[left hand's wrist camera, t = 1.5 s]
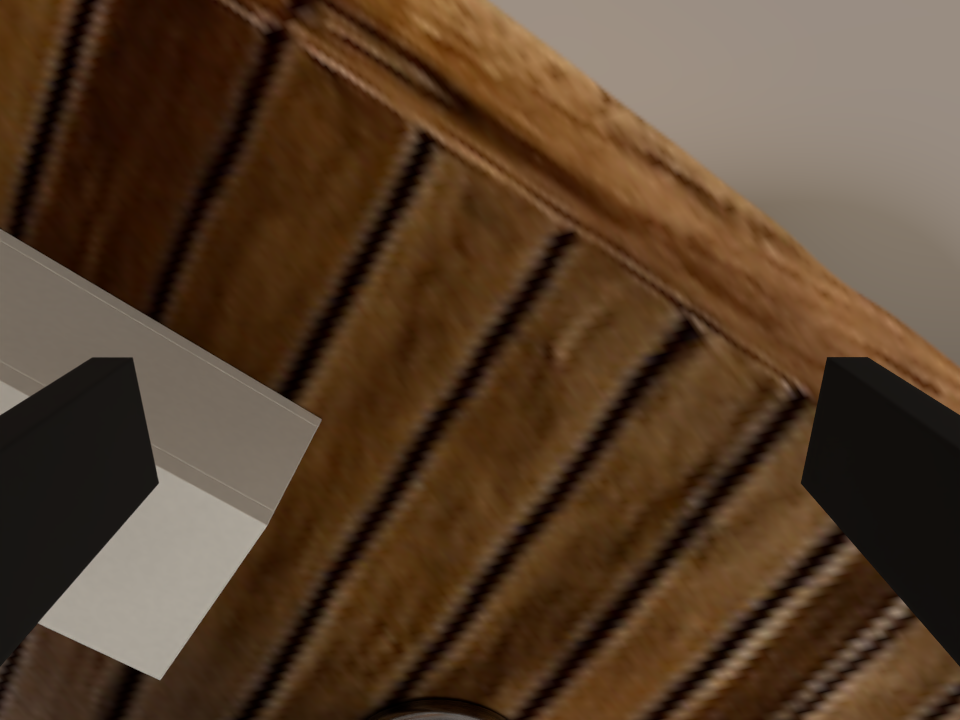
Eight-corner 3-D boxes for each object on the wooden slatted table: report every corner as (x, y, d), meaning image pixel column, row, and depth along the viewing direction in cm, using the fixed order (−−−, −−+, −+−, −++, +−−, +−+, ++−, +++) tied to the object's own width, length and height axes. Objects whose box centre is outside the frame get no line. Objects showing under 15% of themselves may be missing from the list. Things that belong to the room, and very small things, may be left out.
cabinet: (-81, 379, 37) (-281, 474, 28) (-16, 219, 34) (-216, 263, 24) (235, 546, 42) (160, 680, 32) (322, 419, 38) (267, 525, 28)
